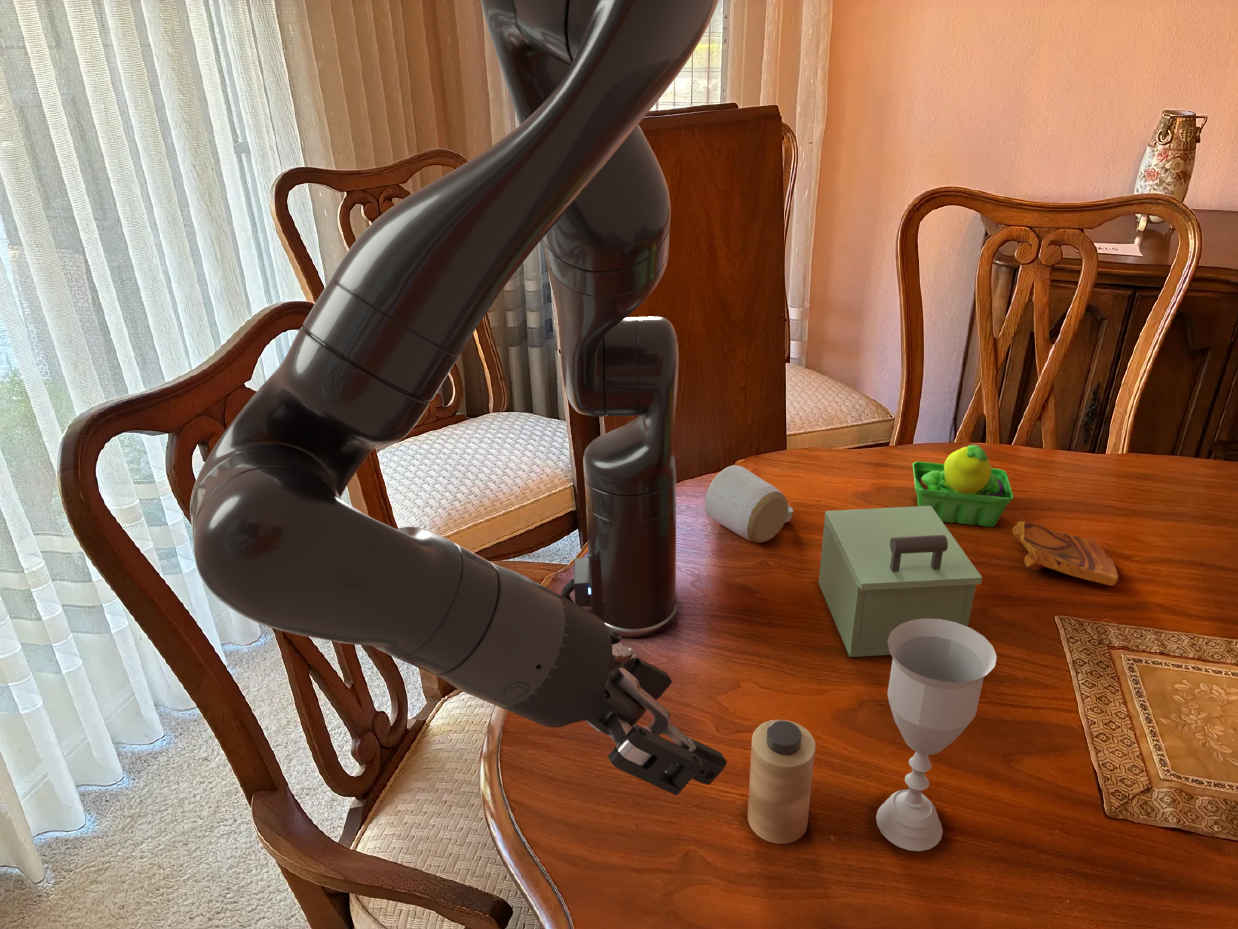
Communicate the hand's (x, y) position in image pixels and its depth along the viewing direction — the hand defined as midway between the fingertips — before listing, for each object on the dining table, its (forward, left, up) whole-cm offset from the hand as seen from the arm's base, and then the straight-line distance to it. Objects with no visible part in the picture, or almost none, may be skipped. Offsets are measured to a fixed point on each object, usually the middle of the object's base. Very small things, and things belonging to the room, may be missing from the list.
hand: (687, 726), depth 61 cm
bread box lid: (+25, +27, -5) cm, 37 cm away
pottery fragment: (+48, +35, -14) cm, 61 cm away
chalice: (+18, +1, -14) cm, 23 cm away
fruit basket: (+40, +47, -14) cm, 63 cm away
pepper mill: (+8, +3, -13) cm, 16 cm away
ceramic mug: (+14, +47, -14) cm, 51 cm away
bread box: (+25, +28, -13) cm, 39 cm away
